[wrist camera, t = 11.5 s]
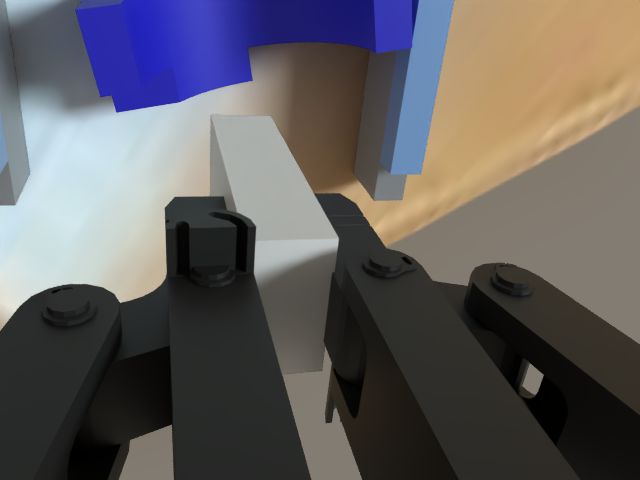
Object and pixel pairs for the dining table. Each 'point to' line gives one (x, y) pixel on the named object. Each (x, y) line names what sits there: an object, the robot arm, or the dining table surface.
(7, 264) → the dining table surface
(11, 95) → the blue grey block group
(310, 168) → the dining table surface
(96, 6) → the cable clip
